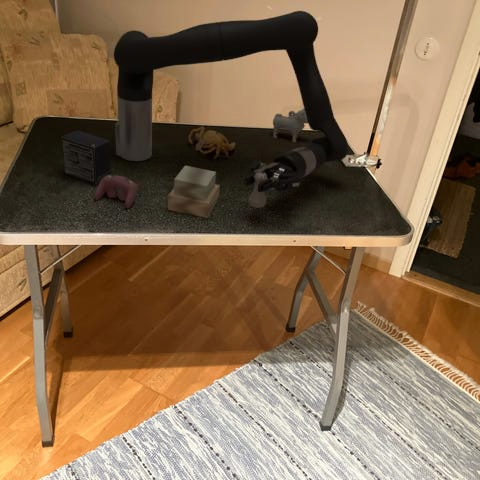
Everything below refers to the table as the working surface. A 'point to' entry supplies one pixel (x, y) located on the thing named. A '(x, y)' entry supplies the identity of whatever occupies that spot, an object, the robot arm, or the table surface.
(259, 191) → the robot arm
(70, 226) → the table surface
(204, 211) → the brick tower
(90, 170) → the small box
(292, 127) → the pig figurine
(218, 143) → the crab model
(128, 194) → the video game controller
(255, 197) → the rook chess piece
